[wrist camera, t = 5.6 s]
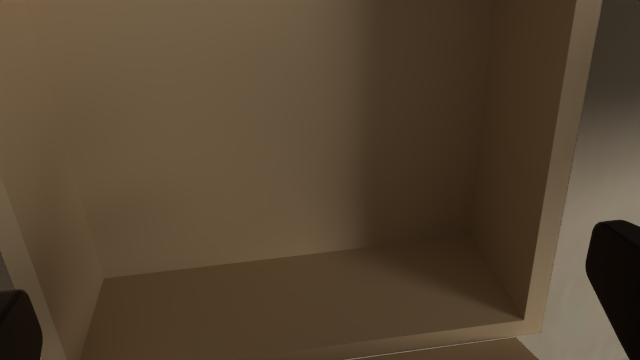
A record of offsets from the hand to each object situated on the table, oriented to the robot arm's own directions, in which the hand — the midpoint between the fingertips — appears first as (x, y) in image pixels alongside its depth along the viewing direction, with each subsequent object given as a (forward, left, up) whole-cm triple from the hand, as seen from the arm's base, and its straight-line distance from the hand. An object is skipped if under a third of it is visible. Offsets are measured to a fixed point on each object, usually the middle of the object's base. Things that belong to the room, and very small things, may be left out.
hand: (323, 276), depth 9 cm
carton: (0, 0, -10) cm, 10 cm away
